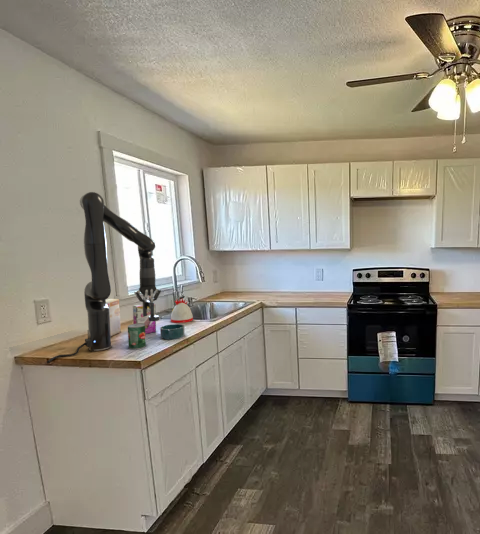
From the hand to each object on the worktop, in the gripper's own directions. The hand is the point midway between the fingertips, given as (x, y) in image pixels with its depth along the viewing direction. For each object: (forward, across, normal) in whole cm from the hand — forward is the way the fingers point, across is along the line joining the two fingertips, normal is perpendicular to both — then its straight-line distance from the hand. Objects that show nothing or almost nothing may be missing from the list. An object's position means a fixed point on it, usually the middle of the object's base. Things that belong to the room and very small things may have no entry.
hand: (148, 309), depth 183 cm
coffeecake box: (+17, +14, -26) cm, 34 cm away
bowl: (+17, -12, +2) cm, 20 cm away
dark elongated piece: (+5, 0, +2) cm, 5 cm away
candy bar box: (+17, -3, -16) cm, 23 cm away
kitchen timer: (+16, -32, -32) cm, 48 cm away
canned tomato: (+17, +9, +8) cm, 21 cm away
